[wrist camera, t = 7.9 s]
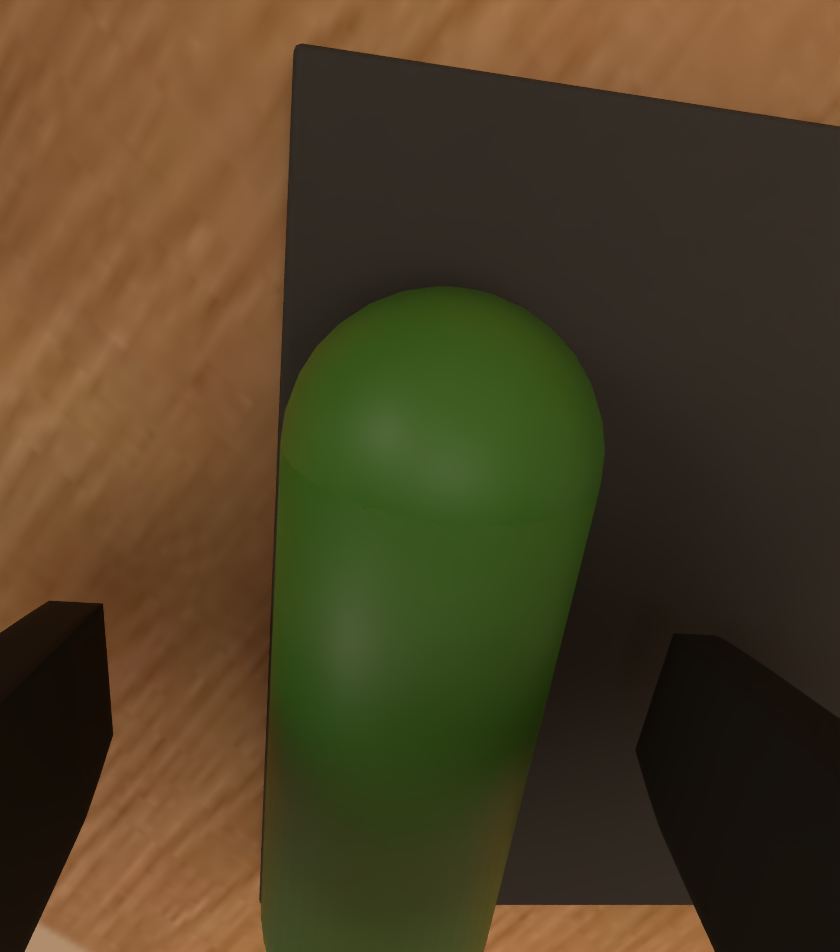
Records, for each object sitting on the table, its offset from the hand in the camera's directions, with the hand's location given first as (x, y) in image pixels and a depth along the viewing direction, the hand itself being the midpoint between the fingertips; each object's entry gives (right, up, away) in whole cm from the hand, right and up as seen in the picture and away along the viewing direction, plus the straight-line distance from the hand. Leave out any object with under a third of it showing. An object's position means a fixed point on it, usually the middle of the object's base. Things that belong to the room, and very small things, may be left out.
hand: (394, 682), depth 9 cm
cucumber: (0, 0, 0) cm, 1 cm away
